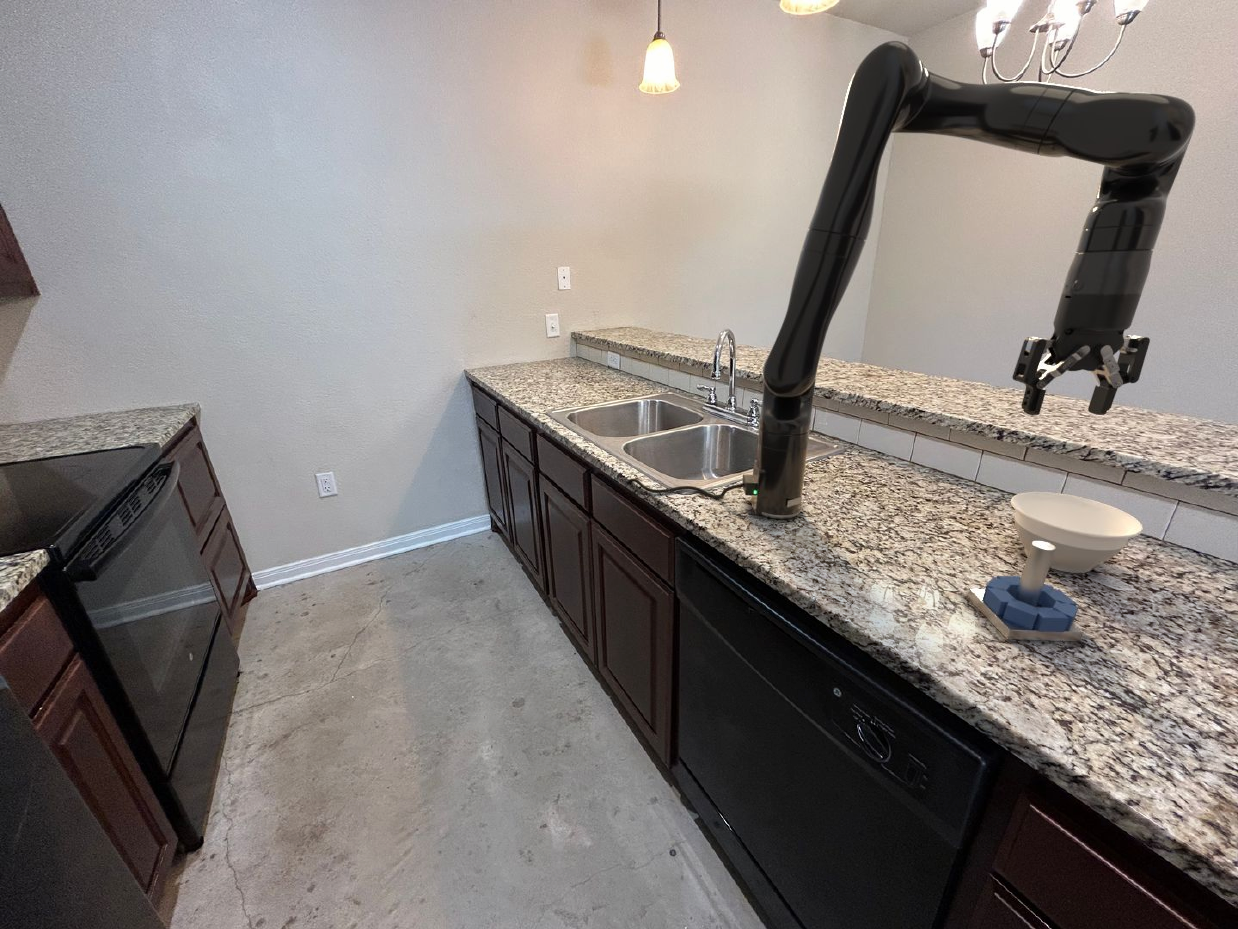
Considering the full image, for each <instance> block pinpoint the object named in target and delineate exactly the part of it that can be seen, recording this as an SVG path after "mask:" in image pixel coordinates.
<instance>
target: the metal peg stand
mask: <svg viewBox="0 0 1238 929" xmlns="http://www.w3.org/2000/svg"><path fill="white" fill-rule="evenodd" d="M1055 550H1056V548H1055V546H1053V545H1052V544H1049V543H1047V542H1043V541H1033V542H1032V545H1031V548H1030V551H1029V554H1028V556H1026V557H1027V558H1026V561H1025V564H1024V566H1023V567H1024V568H1023V569H1022V574H1021V576H1020V577H1021V580H1020V583H1019V586H1018V589H1017V592H1016V595H1015V599H1016V600H1018V601H1020V602H1023V603H1026V604H1029V605H1031V606H1034V607H1043V606H1042V605H1040V604H1038V600H1039V597H1040V594H1041V591H1042V588H1043V585H1044V584H1045V582H1046V579H1047V576H1048V573H1049V570H1050V569H1051V568H1050V565H1051V562H1052V559H1053V556H1054V553H1055ZM985 589H986V588H969V589H968V594H967V599H968V600H969V601H970V602H971V603H972V604H973V605H974V606H975V607H976V609H978V611H980V612H981V613H982V615H983V616H984V617H985V618H986V619H987V620H988V621H989V622H990V623H991V624H992V625H993V626H994V627H995V628H996V629H997V630H998V631H999V633H1000V634H1001V635H1002V636H1004V638H1005V639H1006V640H1019V641H1020V640H1022V641H1049V642H1050V641H1052V642H1053V641H1055V642H1056V641H1057V642H1081V641H1082V639H1083V636H1084V634H1085V631H1084V630H1082V629H1081V628H1080V627H1079V626H1077V625H1076V623H1074V622H1073V623H1072V625H1071V627H1070V629H1069V631H1067V630H1065V631H1064V632H1040V631H1038V630H1037V629H1036V628H1035V627H1033V628H1032V630H1031V629H1028V628H1026V627H1023V626H1021V625H1018V624H1016V623H1013V622H1011V621H1008V620H1006V619H1003V616H1004V615H997V614H996V613H995V612H994V611H993V610H992V609H991V608H990V607H989V606H988V605H987V604H986V603H985V602H984V598H983V596H984V592H985ZM1043 608H1044V607H1043Z"/></svg>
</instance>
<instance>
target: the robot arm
mask: <svg viewBox="0 0 1238 929" xmlns="http://www.w3.org/2000/svg"><path fill="white" fill-rule="evenodd" d="M840 118H841V119H840V122H839V123H840V124H839V126H838V131H837V137H836V141H835V144H834V149H833V152H832V155H831V159H830V163H829V166H828V169H827V172H826V175H825V178H824V181H823V183H822V187H821V189H820V192H819V196H818V199H817V202H816V205H815V209H814V212H813V214H812V217H811V219H810V222H809V226H808V228H807V231H806V235H805V237H804V240H803V243H802V247H801V250H800V252H799V257H798V260H797V264H796V268H795V272H794V276H793V280H792V285H791V290H790V296H789V299H788V305H787V309H786V312H785V316H784V318H783V322H782V324H781V327H780V328H779V331H778V334H777V336H776V339H775V341H774V342H773V345H772V348H771V349H770V352H769V354H768V355H767V357H766V359H765V360H764V363H763V366H762V378H763V394H762V401H761V406H760V407H761V409H760V415H759V424H758V426H759V428H758V440H757V450H756V459H755V460H754V461H753V468H752V474H742V483H739V484H733V485H730V486H727V487H726V488H724V489H723V490H722V492H721V493H720V494H712V493H710V492H709V491H706V490H704V489H703V488H700V487H696V486H692V485H682V486H675V487H670V488H663V489H657V488H656V489H655V488H650V487H648V486H647V485H644V483H642V482H641V481H640V480H639V479H637V478H630V479H628V480H627V481H626V484H631V483H632V482H633V483H636V484H637V485H638V486H640V487H641V488H642V489H643V490H645V491H646V492H649V493H653V494H664V493H672V492H676V491H681V490H692V491H697V492H699V493H701V494H703V495H706V496H708V497H710V498H712V499H716V500H718V499H722V498H724V497H725V495H726V493H727V492H729V491H732V490H735V489H739V488H742V490H743V492H744V495H745V496H750V504H751V508H752V510H753V511H754V514H755V515H756V516H763V517H766V518H769V519H778V520H779V519H780V520H786V519H793V518H796V517H797V516H799V515H800V514H801V511H802V507H801V506H802V499H803V497H802V496H803V489H804V482H805V473H806V464H807V456H808V448H809V439H810V432H811V431H810V430H811V424H812V417H813V416H812V415H813V406H814V396H815V389H816V381H817V380H816V379H817V374H818V368H819V364H820V360H821V354H822V351H823V347H824V344H825V340H826V337H827V333H828V330H829V327H830V324H831V323H832V320H833V318H834V316H835V313H836V312H837V310H838V307H839V306H840V303H841V302H842V300H843V297H844V295H845V293H846V291H847V289H848V287H849V284H850V283H851V280H852V279H853V275H854V273H855V271H856V269H857V266H858V264H859V261H860V258H861V256H862V253H863V250H864V249H865V245H866V242H867V240H868V237H869V234H870V230H871V225H872V222H873V218H874V217H873V215H874V210H875V204H876V203H875V202H876V195H877V194H876V192H877V184H878V175H879V169H880V165H881V162H882V159H883V155H884V152H885V149H886V147H887V144H888V142H889V140H890V137H891V134H925V135H926V134H927V135H936V136H945V137H946V136H947V137H953V138H954V137H955V138H960V139H965V140H970V141H973V142H979V143H984V144H987V145H992V146H995V147H999V148H1004V149H1007V150H1013V151H1017V152H1021V153H1026V154H1031V155H1037V156H1040V157H1046V158H1063V157H1067V158H1072V159H1077V160H1080V161H1085V162H1088V163H1093V164H1098V165H1102V166H1103V169H1102V174H1101V177H1100V181H1099V184H1098V189H1097V193H1096V197H1095V199H1094V200H1095V201H1094V204H1093V205H1092V206H1091V208H1090V209H1089V211H1088V213H1087V216H1086V217H1085V220H1084V224H1083V225H1082V226H1083V227H1082V230H1081V234H1080V237H1079V241H1078V244H1077V248H1076V251H1075V252H1076V253H1074V257H1073V259H1072V262H1071V263H1070V265H1069V267H1068V268H1069V269H1068V271H1067V273H1066V277H1065V281H1064V284H1063V287H1062V292H1061V295H1060V298H1059V301H1058V305H1057V308H1056V312H1055V316H1054V319H1053V323H1052V324H1053V329H1054V330H1053V333H1052V335H1051V336H1050V337H1049V338H1041V337H1036V336H1027V337H1026V338H1025V339H1024V340H1023V343H1022V346H1021V350H1020V352H1019V356H1018V359H1017V362H1016V364H1015V368H1014V369H1013V374H1012V377H1011V378H1012V380H1013V381H1015V382H1019V383H1021V384H1024V385H1025V390H1024V394H1023V397H1022V401H1021V409H1022V410H1023V413H1025V414H1027V415H1029V416H1039V415H1040V413H1041V409H1042V406H1043V403H1044V400H1045V397H1046V392H1047V388H1045V387H1047V386H1048V385H1049V384H1050V383H1052V381H1053V380H1054V379H1056V378H1058V377H1062V375H1064V374H1065V373H1066V372H1079V371H1082V370H1083V371H1087V372H1091V373H1092V374H1093V375H1094V377H1095V379H1096V381H1097V383H1098V385H1097V384H1095V386H1094V388H1093V392H1092V395H1091V398H1090V401H1089V405H1088V408H1087V411H1088V412H1089V413H1090V414H1093V415H1096V416H1104V415H1106V414H1107V413H1108V411H1110V409H1111V408H1112V406H1113V403H1114V400H1115V397H1116V394H1117V392H1118V390H1119V389H1120V388H1121V387H1122V386H1124V385H1127V384H1135V383H1137V382H1138V381H1139V380H1140V377H1141V374H1142V371H1143V367H1144V363H1145V360H1146V358H1147V357H1146V356H1147V353H1148V350H1149V346H1150V343H1151V339H1150V338H1149V337H1148V336H1140V335H1132V334H1127V335H1126V336H1124V333H1125V331H1126V330H1128V329H1129V328H1130V327H1131V326H1132V323H1133V321H1134V318H1135V314H1136V312H1137V309H1138V306H1139V303H1140V301H1141V300H1140V299H1141V296H1142V294H1143V291H1144V288H1145V285H1146V283H1147V282H1146V281H1147V279H1148V275H1149V273H1150V269H1151V264H1152V263H1151V262H1152V257H1153V253H1154V250H1155V247H1156V244H1157V240H1158V238H1159V235H1160V233H1161V229H1162V226H1163V222H1164V218H1165V215H1166V209H1167V201H1168V198H1169V195H1170V194H1171V190H1172V188H1173V186H1174V183H1175V181H1176V178H1177V176H1178V173H1179V171H1180V169H1181V165H1182V163H1183V161H1184V158H1185V155H1186V153H1187V151H1188V148H1189V145H1190V142H1191V140H1192V137H1193V133H1194V131H1195V127H1196V121H1197V116H1196V111H1195V110H1194V108H1193V106H1192V105H1191V104H1190V103H1189V102H1187V101H1186V100H1184V99H1182V98H1179V97H1176V96H1172V95H1166V94H1159V93H1151V92H1149V93H1148V92H1125V91H1124V92H1122V91H1121V92H1120V91H1106V92H1105V91H1103V92H1101V91H1095V90H1091V89H1088V88H1082V87H1077V86H1076V87H1074V86H1069V85H1062V84H1055V83H1047V82H1038V81H1008V82H996V83H995V82H994V83H970V82H963V81H958V80H953V79H950V78H947V77H944V76H941V75H940V74H936V73H934V72H932V71H930V70H927V68H926V66H925V65H924V62H923V61H922V60H921V59H920V57H919V56H918V55H917V53H916V52H915V51H914V49H913V48H912V47H910V45H908V44H906V43H905V42H903V41H899V40H889V41H885V42H883V43H881V44H880V45H877V46H876V47H874V48H873V49H872V50H871V51H870V52H868V54H867V55H866V56H865V57H864V59H863V60H862V61H861V62H859V65H858V66H857V68H856V70H855V72H854V74H853V76H852V78H851V81H850V83H849V86H848V89H847V93H846V96H845V101H844V106H843V110H842V115H841V117H840ZM1048 352H1049V353H1048ZM1118 352H1119V354H1118V358H1117V360H1116V358H1115V354H1116V353H1118ZM1047 353H1048V354H1047ZM1044 354H1047V355H1046V356H1045V357H1044V358H1043V359H1042V357H1043V355H1044Z"/></svg>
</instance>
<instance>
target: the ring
mask: <svg viewBox="0 0 1238 929" xmlns="http://www.w3.org/2000/svg"><path fill="white" fill-rule="evenodd" d="M1020 580H1021V576H1020V575H1018V576H1016V575H997V576H993V577H992V578H991V579H990V580H989V582H988V583H987V584H986V586H985V588H984V589H985V592H984V596H983V598H984V602H985V603H986V604H987V605H988V606H989V607H990V608H991V609H992V610H993V611H994V612H995V613H996V614H997V615H1004V616H1003V619H1006V620H1008V621H1011V622H1013V623H1016V624H1018V625H1021V626H1023V627H1026V628H1028V629H1031V630H1032V628H1033V627H1035V628H1036V629H1037V630H1038V631H1040V632H1064V631H1065V630H1067V631H1069V629H1070V627H1071V625H1072V623H1074V622H1075V618H1076V616H1077V613H1078V611H1079V606H1077V604H1078V603H1077V602H1076V601H1074V600H1073V599H1072V598H1071V597H1069V596H1068V595H1066V594H1065V593H1064V592H1063V591H1062V590H1060V589H1054V586H1051V585H1048V584H1046V583H1044V585H1043V588H1042V591H1041V594H1040V597H1039V600H1038V604H1040V605H1042V606H1043V607H1044V608H1043V607H1034V606H1031V605H1029V604H1026V603H1023V602H1020V601H1018V600H1016V599H1015V595H1016V592H1017V589H1018V586H1019V583H1020Z"/></svg>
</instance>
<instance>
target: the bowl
mask: <svg viewBox="0 0 1238 929" xmlns="http://www.w3.org/2000/svg"><path fill="white" fill-rule="evenodd" d="M1010 504H1011V506H1012V508H1013V509H1014V510H1015V514H1014V528H1015V530H1016V533H1017V536H1018V539H1019V540H1020V542H1021V543H1022V545H1023V547H1024V554H1025V555H1026V557H1028V554H1029V551H1030V548H1031V545H1032V542H1033V541H1043V542H1047V543H1049V544H1052V545H1053V546H1055V548H1056V550H1055V553H1054V556H1053V559H1052V562H1051V565H1050V568H1049V569H1053V570H1057V571H1059V572H1067V573H1072V574H1084V573H1085V574H1086V573H1089V572H1091V571H1092V570H1093V568H1094V567H1097V566H1099V565H1101V564H1103V563H1105V562H1107V561H1109V560H1110V559H1112V558H1114V557H1115V556H1117V555H1119V553H1120V552H1121V551H1122V550H1123V549H1124V548H1125V547H1126V545H1127V544H1128V542H1129V539H1131V538H1136V537H1137V536H1139V535H1141V534H1142V533H1143V532H1144V528H1143V524H1142V522H1140V520H1138V519H1137V518H1136V517H1134V516H1132V515H1131V514H1129V513H1128V512H1126V511H1123V510H1121V509H1119V508H1117V507H1115V506H1112V505H1109V504H1106V503H1104V502H1100V501H1098V500H1097V501H1096V500H1093V499H1090V498H1086V497H1081V496H1078V495H1072V494H1065V493H1059V492H1050V491H1026V492H1020V493H1018V494H1015V495H1013V497H1011V499H1010Z"/></svg>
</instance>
